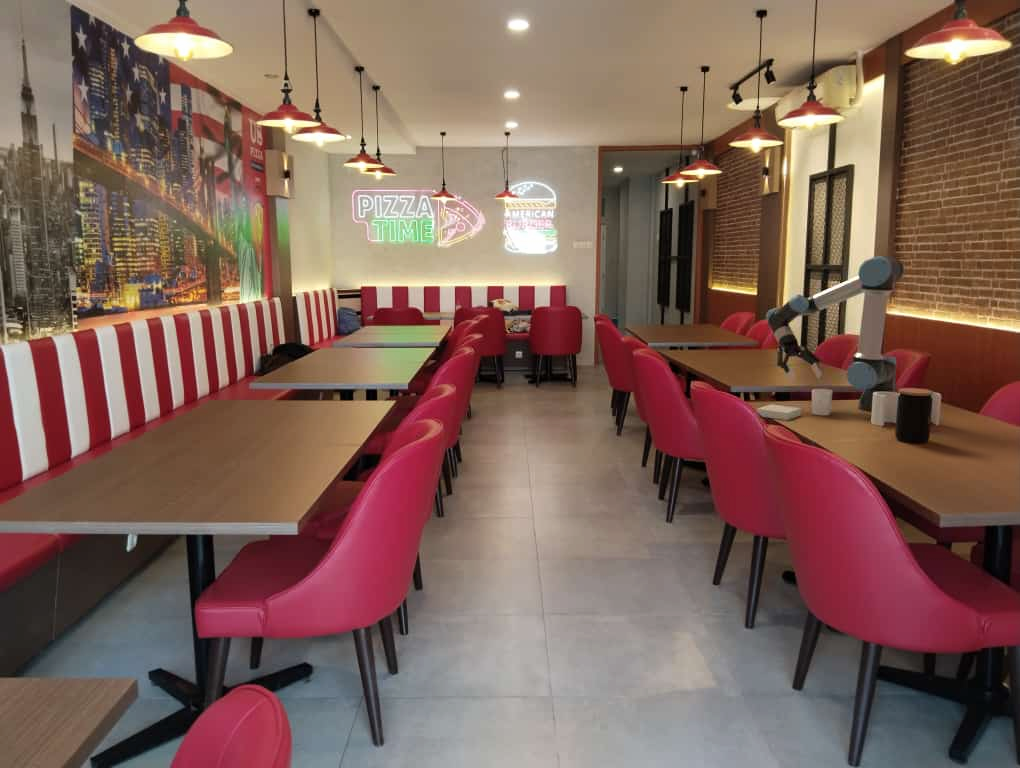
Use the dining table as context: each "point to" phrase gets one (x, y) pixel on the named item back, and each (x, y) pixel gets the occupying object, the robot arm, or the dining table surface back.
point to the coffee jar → (913, 415)
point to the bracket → (887, 407)
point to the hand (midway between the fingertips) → (806, 377)
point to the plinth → (779, 412)
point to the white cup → (821, 401)
